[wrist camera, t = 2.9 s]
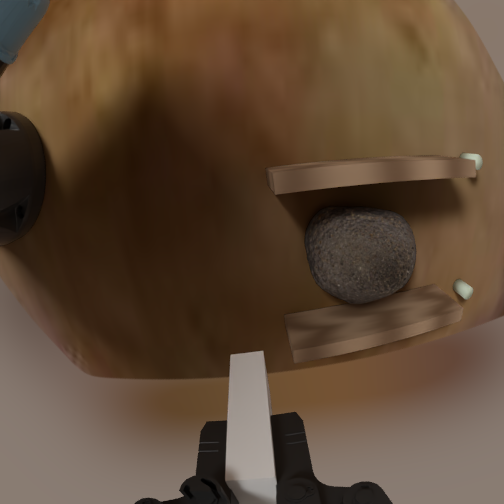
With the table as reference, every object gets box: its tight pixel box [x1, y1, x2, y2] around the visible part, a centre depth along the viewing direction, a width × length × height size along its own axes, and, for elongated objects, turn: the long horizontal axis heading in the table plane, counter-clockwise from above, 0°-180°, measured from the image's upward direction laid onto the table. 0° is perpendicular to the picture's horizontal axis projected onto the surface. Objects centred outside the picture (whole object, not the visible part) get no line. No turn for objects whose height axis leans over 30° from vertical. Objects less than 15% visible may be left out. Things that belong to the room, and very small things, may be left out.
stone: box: [305, 207, 416, 304], centre depth 26 cm, size 10×8×10 cm
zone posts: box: [453, 153, 482, 299], centre depth 26 cm, size 13×17×2 cm
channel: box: [266, 155, 476, 363], centre depth 24 cm, size 18×16×6 cm
